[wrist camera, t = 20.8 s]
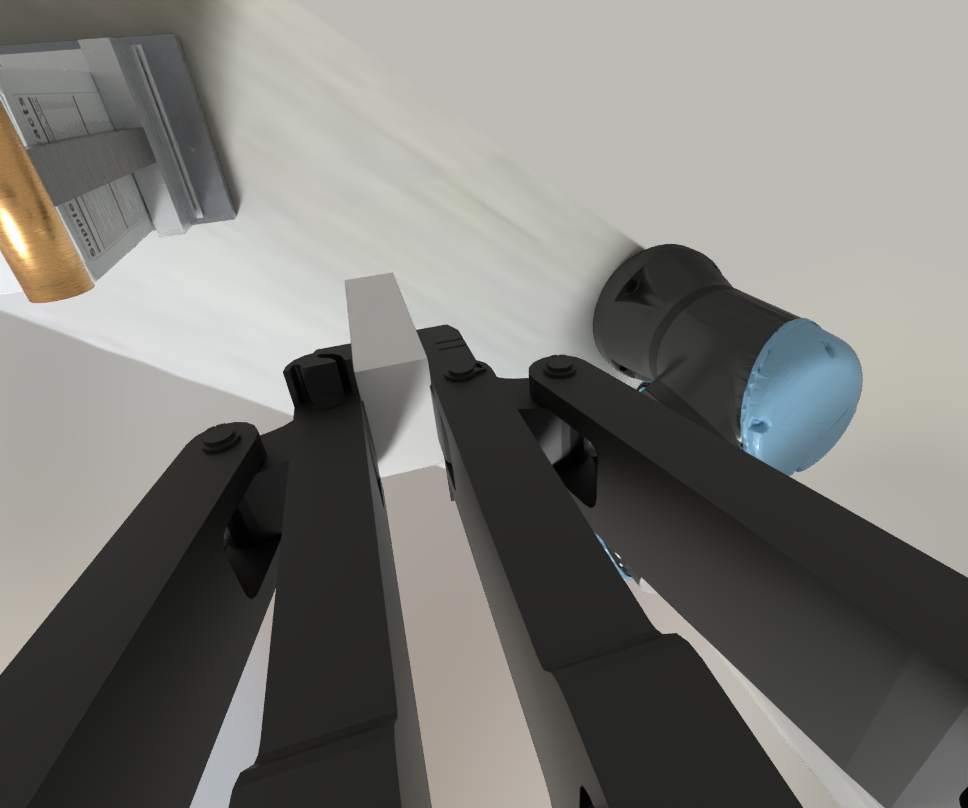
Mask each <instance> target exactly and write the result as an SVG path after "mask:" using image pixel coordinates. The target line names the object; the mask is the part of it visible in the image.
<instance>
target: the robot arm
mask: <svg viewBox="0 0 968 808" xmlns="http://www.w3.org/2000/svg"><path fill="white" fill-rule="evenodd" d="M345 289H346V299H347V308H348V318H349V328H350V338H351V344H345V345H340V346H334V347H329V348H323V349H318V350H316V351H315V352H314V353H312V354H309V355H305V356H303V357H300V358H298V359H296V360H294V361H292V362H291V363H290V364H288V365H287V366H286V367H285V369H284V371H283V374H284V377H285V380H286V383H287V386H288V389H289V392H290V395H291V398H292V401H293V404H294V407H295V409H294V419H293V421H291V422H290V423H288V424H286V425H285V426H283V427H280V428H278V429H276V430H273V431H271V432H268V433H266V434H263V435H259V432H258V430H257V429H256V427H255V426H254V425H252V424H249V423H247V422H233V423H227V424H225V423H224V424H220V425H216V427H215V426H213V427H211V428H208V429H207V430H206V431H205V432H203V433H201V434H199V435H197V436H196V437H194V438H193V439H192V440H191V441H190V442H189V443H188V444H187V445H186V446H185V447H184V448H183V450H182V451H181V452H180V453H179V455H178V456H177V457H176V458H175V460H174V461H173V462H172V463H171V465H170V466H169V467H168V468H167V469H166V471H165V472H164V473H163V474H162V476H161V477H160V478H159V479H158V481H157V482H156V483H155V484H154V486H153V487H152V488H151V489H150V490H149V492H148V493H147V494H146V495H145V497H144V498H143V499H142V500H141V502H140V503H139V504H138V505H137V507H136V508H135V509H134V510H133V512H132V513H131V514H130V516H128V518H127V519H126V520H125V521H124V523H123V524H122V525H121V527H120V528H119V529H118V530H117V531H116V533H115V534H114V535H113V536H112V538H111V539H110V540H109V541H108V542H107V544H106V545H105V546H104V547H103V549H102V550H101V551H100V552H99V554H98V555H97V556H96V558H95V559H94V560H93V561H92V562H91V564H90V565H89V566H88V567H87V568H86V570H85V571H84V572H83V573H82V575H81V576H80V577H79V578H78V580H77V581H76V582H75V584H74V585H73V586H72V587H71V588H70V590H69V591H68V592H67V593H66V594H65V596H64V597H63V598H62V599H61V601H60V602H59V603H58V604H57V606H56V607H55V608H54V609H53V611H52V612H51V613H50V614H49V615H48V617H47V618H46V619H45V620H44V622H43V623H42V624H41V626H40V627H39V628H38V629H37V630H36V632H35V633H34V634H33V635H32V637H31V638H30V639H29V640H28V641H27V643H26V644H25V645H24V646H23V648H22V649H21V651H19V653H18V654H17V655H16V656H15V658H14V659H13V660H12V661H11V662H10V664H9V665H8V666H7V667H6V669H5V670H4V671H3V672H2V674H1V675H0V808H189V807H190V805H191V802H192V800H193V797H194V795H195V792H196V789H197V787H198V784H199V782H200V779H201V777H202V774H203V772H204V769H205V767H206V764H207V761H208V759H209V756H210V754H211V751H212V749H213V746H214V744H215V741H216V739H217V736H218V734H219V731H220V728H221V726H222V723H223V721H224V718H225V715H226V713H227V711H228V708H229V705H230V703H231V700H232V698H233V695H234V693H235V690H236V688H237V685H238V682H239V680H240V678H241V675H242V672H243V670H244V667H245V665H246V662H247V659H248V657H249V655H250V652H251V650H252V647H253V644H254V641H255V639H256V637H257V634H258V632H259V629H260V627H261V624H262V622H263V619H264V616H265V614H266V611H267V609H268V606H269V604H270V601H271V599H272V596H273V593H274V591H275V588H276V595H275V604H274V614H273V623H272V633H271V643H270V653H269V663H268V673H267V682H266V692H265V702H264V712H263V722H262V731H261V740H260V747H259V753H258V756H257V759H256V761H255V763H254V765H252V766H250V767H249V768H247V769H246V770H244V771H243V772H241V773H240V775H239V777H238V779H237V781H236V783H235V785H234V787H233V790H232V794H231V799H230V804H229V808H432V806H431V799H430V793H429V786H428V780H427V773H426V766H425V760H424V754H423V747H422V740H421V734H420V727H419V720H418V715H417V707H416V701H415V694H414V688H413V682H412V675H411V668H410V661H409V655H408V649H407V642H406V635H405V629H404V622H403V616H402V609H401V603H400V596H399V589H398V583H397V576H396V570H395V563H394V556H393V550H392V545H391V544H392V543H391V537H390V530H389V524H388V517H387V511H386V504H385V498H384V491H383V487H382V483H381V479H380V478H381V477H385V476H389V475H394V474H398V473H402V472H407V471H411V470H415V469H419V468H424V467H428V466H432V465H437V464H441V463H444V460H443V455H444V459H445V466H446V472H447V478H448V484H449V491H450V497H451V501H454V500H455V502H456V504H457V508H458V511H459V514H460V517H461V520H462V523H463V526H464V529H465V533H466V536H467V539H468V542H469V545H470V548H471V551H472V554H473V557H474V561H475V563H476V567H477V570H478V573H479V576H480V579H481V582H482V585H483V588H484V592H485V595H486V598H487V601H488V604H489V607H490V610H491V613H492V616H493V620H494V622H495V626H496V629H497V632H498V635H499V638H500V641H501V644H502V647H503V651H504V654H505V657H506V659H507V663H508V666H509V669H510V672H511V675H512V679H513V682H514V685H515V688H516V691H517V694H518V697H519V700H520V703H521V706H522V709H523V713H524V716H525V719H526V722H527V725H528V728H529V731H530V734H531V737H532V741H533V744H534V747H535V750H536V753H537V756H538V759H539V762H540V765H541V768H542V771H543V775H544V778H545V781H546V785H547V788H548V792H549V796H550V800H551V805H552V808H803V807H802V805H801V804H800V802H799V801H798V799H797V798H796V796H795V795H794V794H793V792H792V791H791V789H790V788H789V786H788V785H787V783H786V782H785V780H784V779H783V777H782V776H781V774H780V773H779V771H778V770H777V768H776V767H775V765H774V764H773V763H772V761H771V760H770V758H769V757H768V755H767V754H766V752H765V751H764V749H763V748H762V746H761V745H760V743H759V742H758V740H757V739H756V737H755V736H754V735H753V733H752V732H751V730H750V729H749V727H748V726H747V724H746V723H745V721H744V720H743V719H742V717H741V715H740V714H739V712H738V711H737V710H736V708H735V707H734V705H733V704H732V702H731V701H730V699H729V698H728V696H727V695H726V693H725V692H724V690H723V689H722V687H721V686H720V684H719V683H718V682H717V680H716V679H715V677H714V676H713V674H712V673H711V671H710V670H709V668H708V667H707V665H706V664H705V662H704V661H703V659H702V658H701V657H700V656H699V654H698V653H697V652H696V651H695V649H694V648H693V647H692V646H691V645H690V643H689V642H688V641H686V640H685V639H684V638H682V637H681V636H679V635H678V634H677V633H674V634H673V633H672V634H662V633H660V632H659V631H658V630H656V628H655V627H654V626H653V625H652V624H651V622H650V621H649V619H648V617H647V616H646V614H645V613H644V611H643V609H642V608H641V606H640V605H639V603H638V601H637V600H636V598H635V597H634V595H633V594H632V592H631V590H630V589H629V587H628V585H627V584H626V582H625V581H626V580H632V579H634V580H635V581H636V583H637V584H638V585H639V587H640V588H641V589H642V590H643V591H644V592H647V593H653V594H659V595H660V596H661V597H662V598H663V599H664V600H666V601H667V602H668V603H669V604H670V605H671V606H672V607H673V608H674V609H675V610H676V611H677V612H678V613H679V614H680V615H681V616H682V617H683V618H684V619H685V620H686V621H688V623H690V624H691V625H692V626H693V627H694V628H695V629H696V630H697V631H698V632H699V633H700V634H701V635H702V636H703V638H704V639H705V640H706V641H707V643H708V644H709V645H710V646H711V648H712V649H713V650H714V651H715V653H716V654H717V655H718V656H719V658H720V659H721V660H722V661H723V663H724V664H725V665H726V666H727V667H728V669H729V670H730V671H731V672H732V674H733V675H734V676H735V678H736V679H737V680H738V681H739V683H740V684H741V685H742V686H743V687H744V689H745V690H746V691H747V692H748V694H749V695H750V696H751V697H752V699H753V700H754V701H755V702H756V703H757V705H758V706H759V707H760V709H761V710H762V711H763V712H764V713H765V715H766V716H767V717H768V719H769V720H770V721H771V722H772V724H773V725H774V726H775V727H776V729H777V730H778V731H779V732H780V734H781V735H782V736H783V737H784V739H785V740H786V741H787V742H788V744H789V745H790V746H791V747H792V748H793V750H794V751H795V752H796V753H797V755H798V756H799V757H800V758H801V760H802V761H803V762H804V763H805V765H806V766H807V767H808V768H809V770H810V771H811V772H812V773H813V775H814V776H815V777H816V778H817V780H818V781H819V782H820V783H821V785H822V786H823V787H824V788H825V790H826V791H827V792H828V793H829V795H830V796H831V797H832V798H833V799H834V801H835V802H836V803H837V805H838V806H839V807H840V808H968V578H967V577H965V576H964V575H962V574H960V573H958V572H957V571H955V570H953V569H951V568H950V567H948V566H946V565H944V564H943V563H941V562H939V561H937V560H935V559H933V558H932V557H930V556H928V555H927V554H925V553H923V552H921V551H920V550H918V549H916V548H914V547H913V546H911V545H909V544H907V543H905V542H904V541H902V540H900V539H898V538H897V537H895V536H893V535H891V534H890V533H888V532H886V531H884V530H883V529H881V528H879V527H877V526H875V525H874V524H872V523H870V522H868V521H867V520H865V519H863V518H862V517H860V516H858V515H856V514H854V513H853V512H851V511H849V510H847V509H846V508H844V507H842V506H840V505H839V504H837V503H835V502H833V501H832V500H830V499H828V498H826V497H824V496H823V495H821V494H819V493H817V492H816V491H814V490H812V489H810V488H809V487H807V486H805V485H803V484H802V483H799V482H798V481H796V480H794V479H793V478H791V477H789V476H790V475H792V474H793V473H794V472H795V471H796V472H801V471H804V470H806V469H807V468H809V467H810V466H812V465H814V464H815V463H816V462H818V461H819V460H820V459H821V458H822V457H824V455H826V454H827V453H828V452H829V451H830V450H831V449H832V448H833V446H834V445H835V444H836V443H837V441H838V440H839V439H840V438H841V436H842V435H843V433H844V432H845V430H846V429H847V427H848V425H849V424H850V422H851V420H852V418H853V416H854V414H855V411H856V407H857V404H858V401H859V399H860V395H861V391H862V380H863V378H862V369H861V364H860V361H859V359H858V357H857V355H856V353H855V351H854V350H853V349H852V348H851V346H849V344H847V343H846V342H845V341H843V340H842V339H840V338H838V337H836V336H834V335H833V334H830V333H829V332H827V331H825V330H823V329H822V328H821V327H820V326H819V325H817V324H816V323H815V322H814V321H811V320H809V319H806V318H800V317H798V316H795V315H793V314H791V313H789V312H787V311H785V310H782V309H780V308H778V307H776V306H773V305H771V304H769V303H766V302H764V301H762V300H760V299H758V298H755V297H753V296H751V295H749V294H746V293H744V292H742V291H740V290H737V289H735V288H733V287H732V285H731V284H730V283H729V282H728V281H727V280H726V279H725V277H724V276H723V275H722V274H721V272H720V270H719V269H718V267H717V266H716V265H715V263H714V262H713V261H712V260H711V259H709V258H708V257H707V256H705V255H704V254H702V253H700V252H698V251H695V250H693V249H691V248H688V247H685V246H682V245H677V244H664V245H658V246H655V247H651V248H649V249H646V250H644V251H642V252H640V253H638V254H636V255H635V256H633V257H632V258H630V259H629V260H628V261H627V262H625V263H624V264H623V265H622V266H621V267H620V268H619V269H618V270H617V271H616V272H615V273H614V274H613V276H612V277H611V278H610V280H609V281H608V283H607V284H606V286H605V287H604V289H603V291H602V293H601V295H600V297H599V300H598V302H597V305H596V309H595V313H594V320H593V333H594V339H595V343H596V346H597V348H598V350H599V352H600V353H601V355H602V356H603V357H604V359H605V360H606V361H607V362H608V363H610V364H611V365H612V366H613V367H614V368H615V369H616V370H618V371H619V372H621V373H622V374H624V375H626V376H629V377H632V378H635V379H639V380H642V381H646V382H650V384H649V385H648V386H647V387H646V388H644V389H643V390H642V391H641V392H639V391H638V390H636V389H634V388H632V387H631V386H629V385H627V384H625V383H624V382H622V381H620V380H618V379H616V378H615V377H613V376H611V375H609V374H608V373H606V372H604V371H602V370H601V369H599V368H597V367H595V366H594V365H592V364H590V363H588V362H586V361H585V360H582V359H579V358H577V357H572V356H567V355H559V356H557V355H552V356H550V357H546V358H542V359H540V360H538V361H536V362H534V363H533V364H532V365H531V366H530V367H529V378H520V379H506V378H499V377H497V376H496V375H495V373H494V371H493V370H492V368H491V367H490V366H489V365H487V364H486V363H484V362H480V361H477V360H476V359H475V358H474V356H473V354H472V353H471V351H470V349H469V347H468V346H467V344H466V342H465V341H464V339H463V337H462V336H461V334H460V332H459V331H458V330H457V329H455V328H453V327H451V326H449V325H441V326H436V327H430V328H425V329H419V330H416V329H415V327H414V324H413V322H412V319H411V317H410V314H409V312H408V309H407V307H406V304H405V302H404V299H403V297H402V294H401V292H400V289H399V287H398V284H397V282H396V279H395V277H394V274H393V273H388V274H381V275H375V276H369V277H363V278H357V279H350V280H345ZM442 452H443V453H442Z"/></svg>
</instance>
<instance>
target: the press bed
mask: <svg viewBox="0 0 968 808" xmlns="http://www.w3.org/2000/svg"><path fill="white" fill-rule="evenodd" d="M112 39H116V40H119V41H123V42H126V43H130V44H134V47H135V49H136V52H137V55H138V57H139V60H140V63H141V66H142V68H143V71H144V74H145V76H146V79H147V82H148V85H149V87H150V90H151V93H152V96H153V98H154V101H155V104H156V106H157V109H158V112H159V115H160V117H161V120H162V123H163V125H164V128H165V131H166V134H167V136H168V139H169V142H170V144H171V147H172V150H173V153H174V155H175V158H176V161H177V163H178V166H179V169H180V172H181V174H182V177H183V180H184V182H185V185H186V188H187V191H188V193H189V196H190V199H191V201H192V204H193V207H194V210H195V212H196V215H197V218H198V220H197V221H196V222H195V223H194V224H193V225H195V224H203V223H210V222H217V221H225V220H232V219H235V218H236V216H237V214H236V211H235V208H234V205H233V202H232V199H231V196H230V193H229V190H228V186H227V183H226V180H225V177H224V174H223V171H222V168H221V165H220V162H219V159H218V156H217V153H216V150H215V147H214V144H213V141H212V138H211V135H210V131H209V128H208V125H207V122H206V119H205V116H204V113H203V110H202V107H201V104H200V101H199V98H198V95H197V92H196V89H195V86H194V83H193V79H192V76H191V73H190V70H189V67H188V64H187V61H186V58H185V55H184V52H183V49H182V46H181V43H180V40H179V37H178V35H176V34H159V35H145V36H130V37H116V38H112ZM0 67H3V68H20V69H45V70H65V71H82V72H91V71H90V69H89V66H88V64H87V61H86V59H85V57H84V54H83V52H82V49H81V47H80V44H79V42H78V40H72V41H58V42H43V43H29V44H14V45H0ZM154 230H156V228H155V229H154Z"/></svg>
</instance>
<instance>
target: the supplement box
mask: <svg viewBox="0 0 968 808" xmlns="http://www.w3.org/2000/svg"><path fill="white" fill-rule="evenodd" d="M0 100H1V102H2V104H3V106H4V108H5V110H6V112H7V114H8V116H9V117H10V119H11V121H12V123H13V125H14V127H15V129H16V131H17V133H18V135H19V137H20V139H21V141H22V143H23V145H24V146H27V145H33V144H38V143H44V142H49V141H55V140H60V139H66V138H71V137H77V136H82V135H88V134H93V133H99V132H104V131H110V130H115V129H114V126H113V124H112V122H111V119H110V117H109V114H108V112H107V110H106V107H105V105H104V102H103V100H102V98H101V95H100V93H99V90H98V88H97V85H96V83H95V81H94V78H93V76H92V73H91V72H82V71H65V70H45V69H20V68H3V67H0ZM55 208H56V210H57V212H58V214H59V216H60V218H61V220H62V222H63V224H64V226H65V228H66V230H67V232H68V234H69V236H70V238H71V240H72V242H73V244H74V246H75V248H76V250H77V251H78V253H79V255H80V257H81V259H82V261H83V263H84V265H85V267H86V269H87V271H88V273H89V275H90V277H91V279H92V281H93V282H96V281H97V280H98V279H100V278H101V277H102V276H103V275H104V274H105V273H106V272H107V271H108V270H110V269H111V268H112V267H113V266H114V265H115V264H116V263H117V262H118V261H119V260H120V259H122V258H123V257H124V256H125V255H126V254H127V253H129V252H130V251H131V250H132V249H133V248H134V247H136V245H137V244H138V243H139V242H140V241H141V240H142V239H143V238H145V237H146V236H147V235H148V234H149V233H150V232H151V231H152V230H154V229H155V225H154V223H153V220H152V218H151V216H150V213H149V211H148V208H147V206H146V204H145V201H144V199H143V196H142V194H141V192H140V189H139V187H138V184H137V182H136V179H135V177H134V175H133V173H131V174H129V175H126V176H124V177H122V178H120V179H117V180H115V181H113V182H110V183H108V184H106V185H104V186H101V187H99V188H97V189H95V190H92V191H90V192H88V193H86V194H83V195H81V196H79V197H76V198H74V199H72V200H70V201H67V202H65V203H63V204H61V205H58V206H56V207H55ZM15 292H23V289H22V288H21V286H20V284H19V282H18V281H17V279H16V277H15V276H14V274H13V272H12V271H11V269H10V267H9V265H8V264H7V262H6V260H5V259H4V257H3V255H2V254H1V252H0V294H8V293H15Z"/></svg>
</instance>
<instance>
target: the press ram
mask: <svg viewBox="0 0 968 808" xmlns="http://www.w3.org/2000/svg"><path fill="white" fill-rule="evenodd" d="M78 42H79V44H80V47H81V49H82V52H83V54H84V57H85V59H86V61H87V64H88V66H89V69H90V71H91V73H92V76H93V78H94V81H95V83H96V85H97V88H98V90H99V93H100V95H101V98H102V100H103V102H104V105H105V107H106V110H107V112H108V114H109V117H110V119H111V122H112V124H113V126H114V129H115V130H110V131H104V132H99V133H93V134H88V135H82V136H77V137H71V138H66V139H60V140H55V141H49V142H44V143H38V144H33V145H27V146H24V145H23V143H22V141H21V139H20V137H19V135H18V133H17V131H16V129H15V127H14V125H13V123H12V121H11V119H10V117H9V116H8V114H7V112H6V110H5V108H4V106H3V104H2V102H1V100H0V252H1V254H2V255H3V257H4V259H5V260H6V262H7V264H8V265H9V267H10V269H11V271H12V272H13V274H14V276H15V277H16V279H17V281H18V282H19V284H20V286H21V288H22V289H23V291H24V293H25V294H26V296H27V298H28V299H29V301H30V302H32V303H46V302H53V301H58V300H63V299H67V298H71V297H74V296H77V295H80V294H83V293H85V292H87V291H89V290H91V289H92V288H94V286H95V285H94V283H93V281H92V279H91V277H90V275H89V273H88V271H87V269H86V267H85V265H84V263H83V261H82V259H81V257H80V255H79V253H78V251H77V250H76V248H75V246H74V244H73V242H72V240H71V238H70V236H69V234H68V232H67V230H66V228H65V226H64V224H63V222H62V220H61V218H60V216H59V214H58V212H57V210H56V208H55V207H56V206H58V205H61V204H63V203H65V202H67V201H70V200H72V199H74V198H76V197H79V196H81V195H83V194H86V193H88V192H90V191H92V190H95V189H97V188H99V187H101V186H104V185H106V184H108V183H110V182H113V181H115V180H117V179H120V178H122V177H124V176H126V175H129V174H131V173H133V175H134V177H135V179H136V182H137V184H138V187H139V189H140V192H141V194H142V196H143V199H144V201H145V204H146V206H147V208H148V211H149V213H150V216H151V218H152V220H153V223H154V225H155V228H156V230H157V232H158V235H159V237H165V236H172V235H179V234H185V233H186V232H187V231H188V229H189V228H190V227H191V226H192V225H193V224H194V223H195V222H196V221H197V220H198V218H197V215H196V212H195V210H194V207H193V204H192V201H191V199H190V196H189V193H188V191H187V188H186V185H185V182H184V180H183V177H182V174H181V172H180V169H179V166H178V163H177V161H176V158H175V155H174V153H173V150H172V147H171V144H170V142H169V139H168V136H167V134H166V131H165V128H164V125H163V123H162V120H161V117H160V115H159V112H158V109H157V106H156V104H155V101H154V98H153V96H152V93H151V90H150V87H149V85H148V82H147V79H146V76H145V74H144V71H143V68H142V66H141V63H140V60H139V57H138V55H137V52H136V49H135V47H134V44H130V43H126V42H123V41H119V40H116V39H112V38H96V39H81V40H78Z"/></svg>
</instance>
